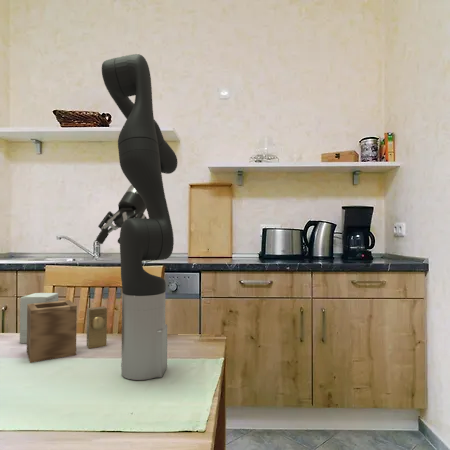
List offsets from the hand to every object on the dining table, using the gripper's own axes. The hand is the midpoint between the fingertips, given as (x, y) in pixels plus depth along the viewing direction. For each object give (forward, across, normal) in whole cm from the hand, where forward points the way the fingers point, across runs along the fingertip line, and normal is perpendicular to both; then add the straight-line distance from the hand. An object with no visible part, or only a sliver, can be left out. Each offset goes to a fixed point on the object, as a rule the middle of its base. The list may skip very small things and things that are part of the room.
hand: (109, 243), depth 100 cm
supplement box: (+27, -18, +11) cm, 34 cm away
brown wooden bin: (+30, -5, +6) cm, 31 cm away
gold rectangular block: (+24, 0, +14) cm, 27 cm away
